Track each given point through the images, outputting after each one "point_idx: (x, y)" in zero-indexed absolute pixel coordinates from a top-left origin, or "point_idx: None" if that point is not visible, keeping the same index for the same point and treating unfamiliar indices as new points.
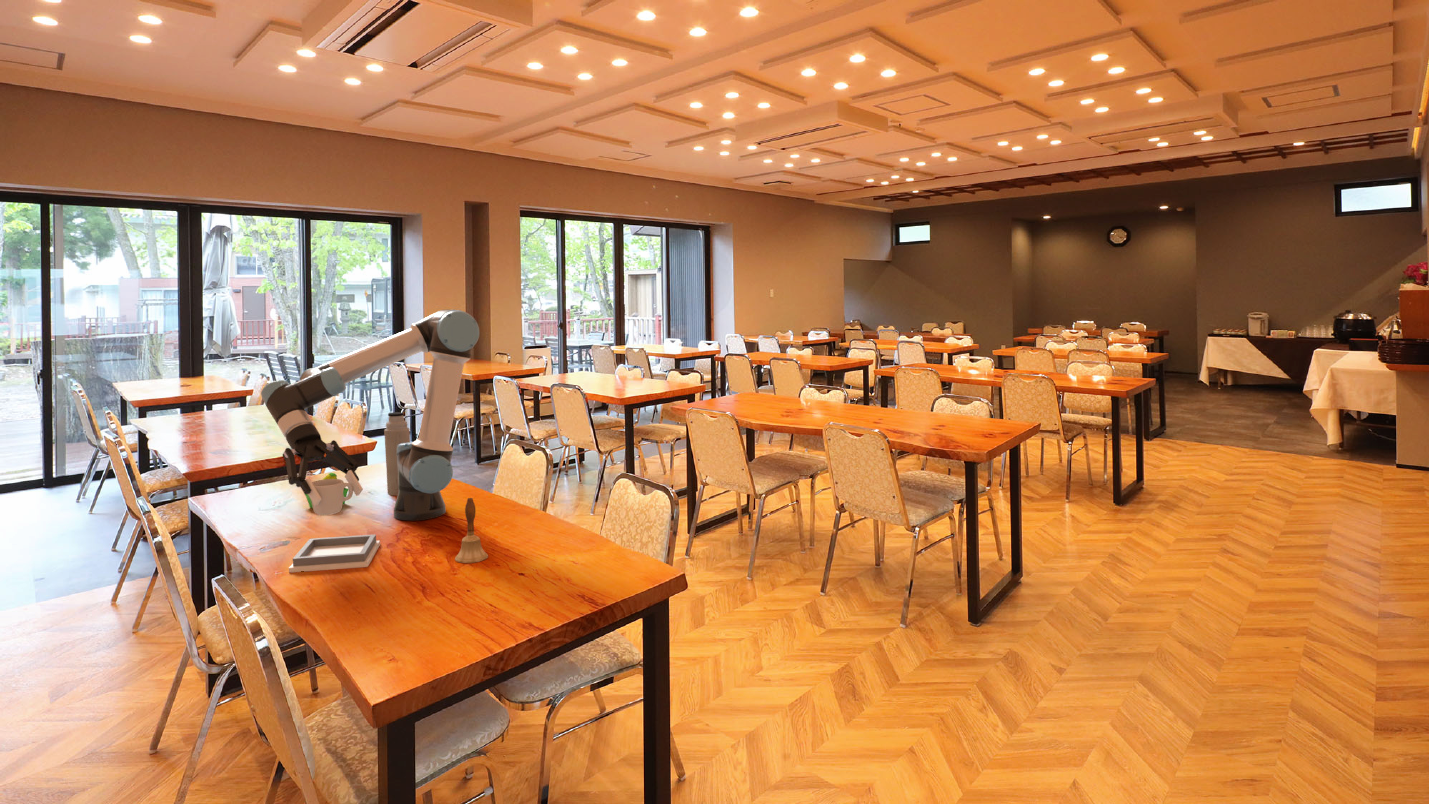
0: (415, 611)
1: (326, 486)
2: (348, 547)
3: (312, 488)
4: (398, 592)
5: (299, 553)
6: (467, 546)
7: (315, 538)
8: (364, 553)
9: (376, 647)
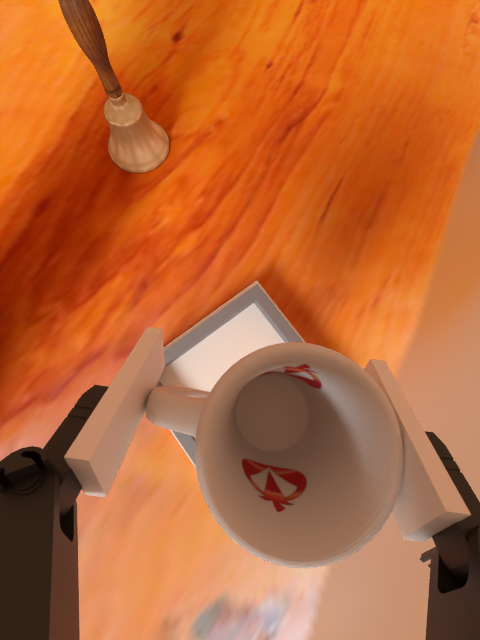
0: (364, 81)
1: (360, 366)
2: None
3: (418, 422)
4: (323, 148)
5: None
6: (146, 115)
7: None
8: (255, 285)
9: (464, 53)
